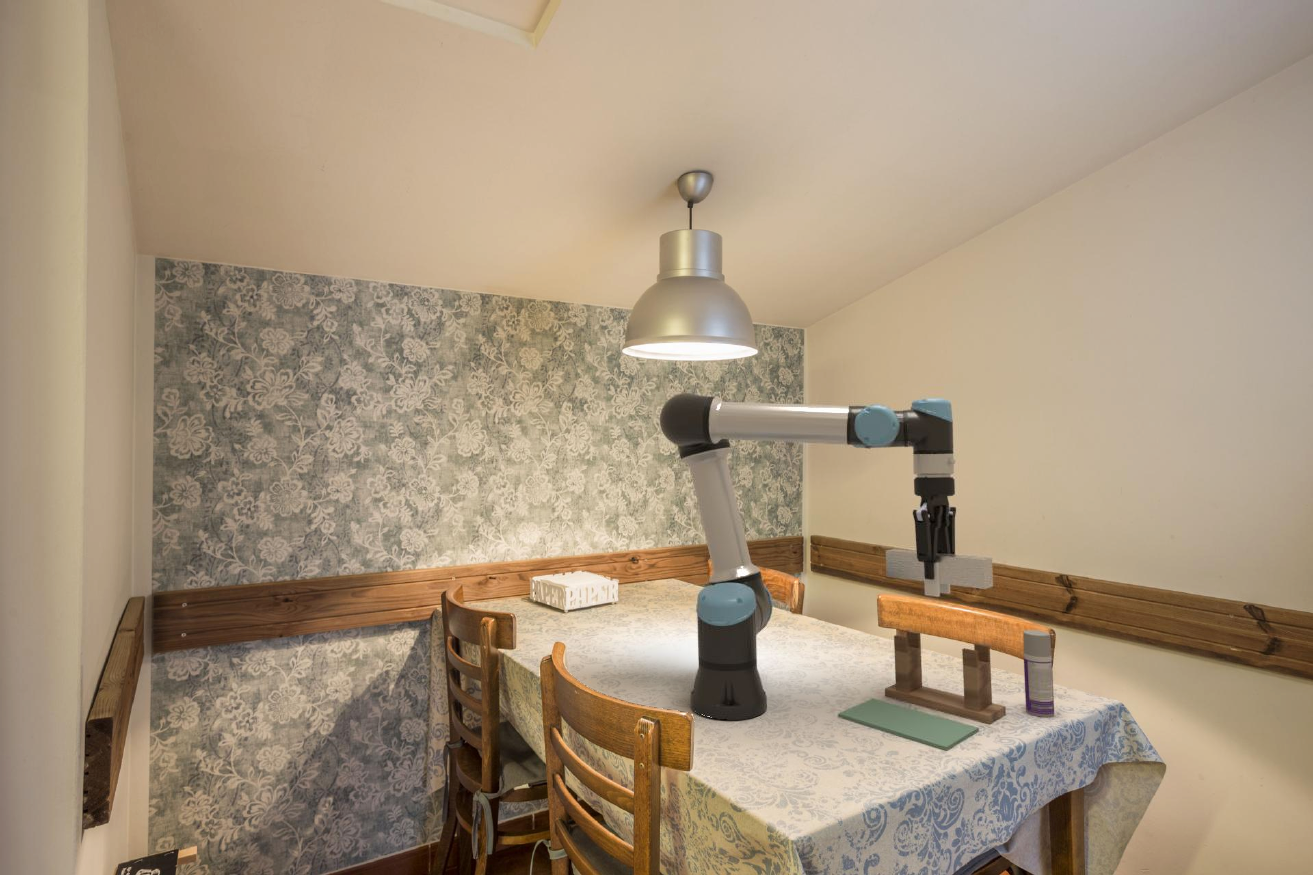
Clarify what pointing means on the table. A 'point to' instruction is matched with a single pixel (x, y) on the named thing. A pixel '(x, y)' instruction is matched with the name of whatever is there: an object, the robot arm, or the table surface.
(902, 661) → the rack
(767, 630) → the table surface
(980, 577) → the rail
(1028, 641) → the container
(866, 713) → the mat
